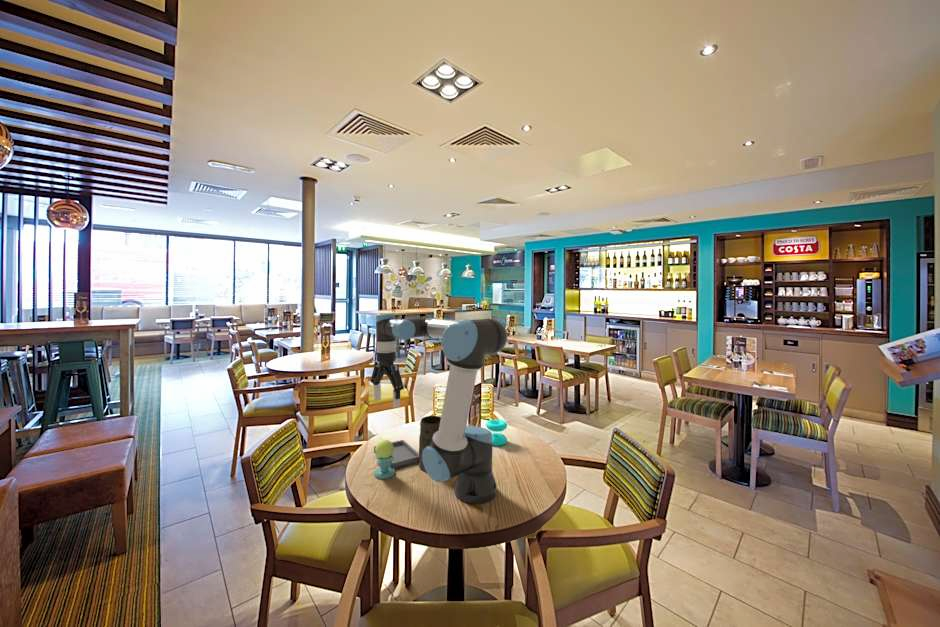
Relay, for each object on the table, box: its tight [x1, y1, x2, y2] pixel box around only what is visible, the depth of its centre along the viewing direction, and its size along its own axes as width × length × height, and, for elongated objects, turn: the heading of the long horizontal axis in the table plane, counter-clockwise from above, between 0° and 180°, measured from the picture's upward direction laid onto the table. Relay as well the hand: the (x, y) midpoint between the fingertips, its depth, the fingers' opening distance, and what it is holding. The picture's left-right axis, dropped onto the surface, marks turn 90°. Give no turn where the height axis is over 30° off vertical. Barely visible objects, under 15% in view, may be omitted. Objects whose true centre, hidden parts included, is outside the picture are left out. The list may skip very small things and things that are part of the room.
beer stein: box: [418, 415, 441, 472], centre depth 150 cm, size 15×11×20 cm
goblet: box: [373, 455, 396, 480], centre depth 144 cm, size 8×8×7 cm
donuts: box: [485, 418, 508, 447], centre depth 175 cm, size 10×10×10 cm
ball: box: [375, 439, 394, 459], centre depth 144 cm, size 7×7×7 cm
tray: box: [373, 439, 420, 470], centre depth 160 cm, size 20×14×2 cm
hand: (386, 403), depth 149 cm, fingers open, 13 cm apart
